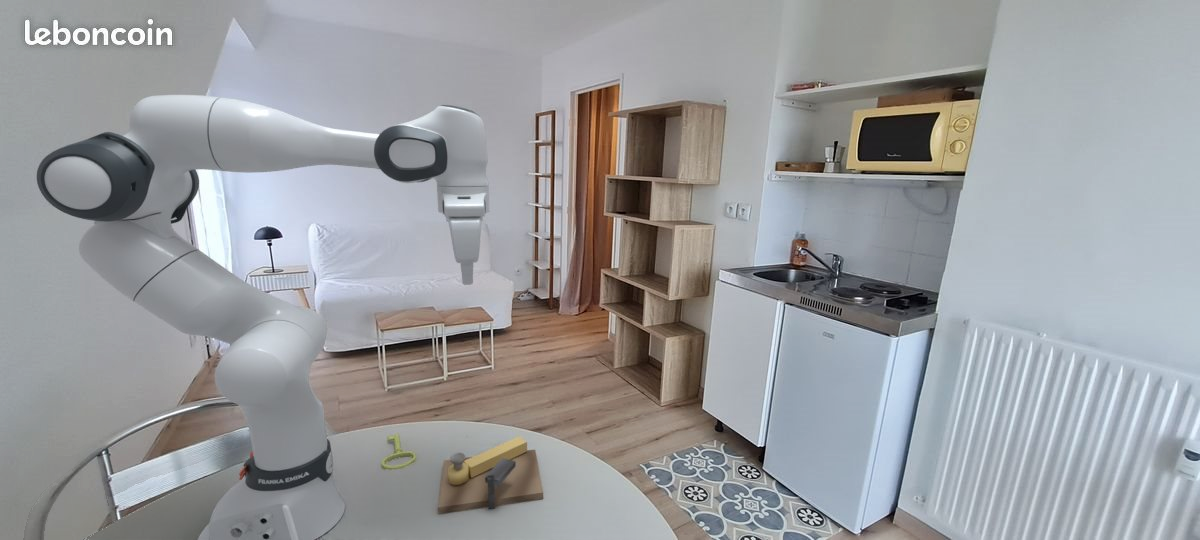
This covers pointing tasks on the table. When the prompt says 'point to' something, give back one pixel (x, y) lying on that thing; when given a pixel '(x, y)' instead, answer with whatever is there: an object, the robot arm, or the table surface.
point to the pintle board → (492, 484)
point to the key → (397, 454)
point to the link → (486, 460)
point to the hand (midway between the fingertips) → (467, 277)
